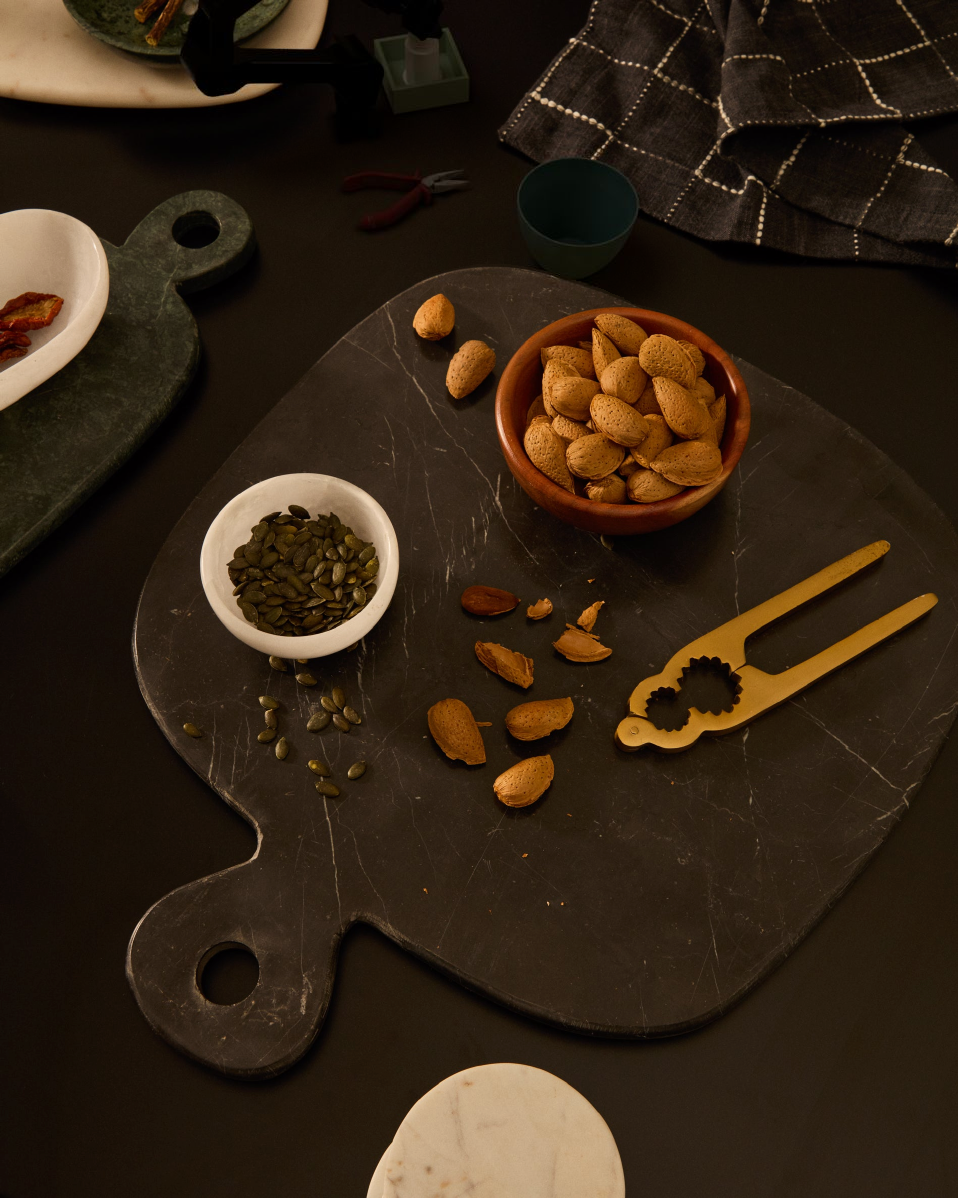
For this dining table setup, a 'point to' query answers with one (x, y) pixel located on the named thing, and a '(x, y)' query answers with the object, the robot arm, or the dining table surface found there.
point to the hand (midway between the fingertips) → (423, 23)
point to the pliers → (415, 184)
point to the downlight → (421, 60)
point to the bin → (427, 93)
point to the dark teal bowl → (575, 215)
